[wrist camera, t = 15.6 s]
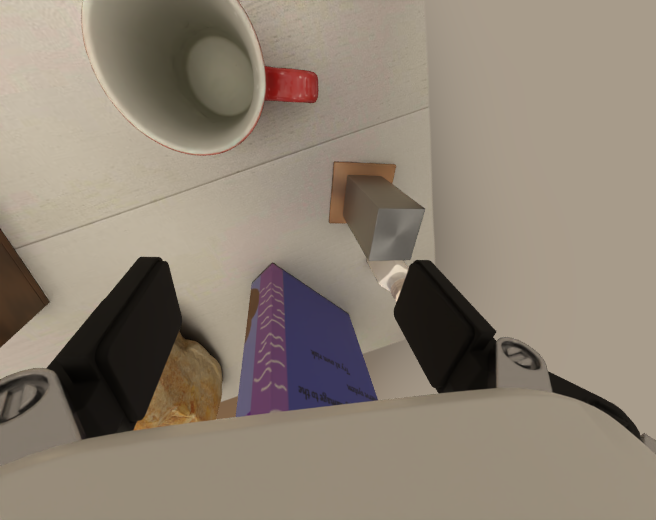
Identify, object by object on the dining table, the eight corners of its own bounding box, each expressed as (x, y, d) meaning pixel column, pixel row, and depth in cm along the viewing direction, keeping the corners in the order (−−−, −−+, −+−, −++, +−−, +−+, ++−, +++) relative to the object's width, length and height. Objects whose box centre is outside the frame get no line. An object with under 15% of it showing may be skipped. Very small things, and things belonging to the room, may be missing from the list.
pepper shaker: (381, 271, 42) (406, 311, 34) (364, 260, 40) (386, 300, 32) (398, 253, 40) (428, 291, 32) (381, 241, 38) (408, 278, 31)
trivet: (333, 161, 31) (334, 162, 31) (394, 164, 32) (396, 165, 32) (328, 221, 35) (329, 223, 35) (382, 221, 37) (384, 223, 36)
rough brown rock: (67, 308, 36) (-51, 423, 24) (183, 293, 37) (125, 399, 24) (149, 390, 50) (101, 490, 38) (233, 378, 50) (213, 474, 38)
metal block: (347, 174, 32) (378, 208, 22) (381, 175, 32) (425, 208, 23) (342, 215, 35) (368, 261, 25) (373, 215, 35) (410, 260, 26)
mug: (179, 124, 26) (109, 145, 15) (163, 5, 22) (45, -91, 10) (300, 141, 29) (317, 170, 18) (310, 40, 24) (339, -7, 13)
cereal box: (251, 282, 38) (227, 481, 19) (272, 262, 37) (269, 453, 17) (329, 329, 47) (370, 499, 27) (348, 313, 46) (405, 480, 26)
